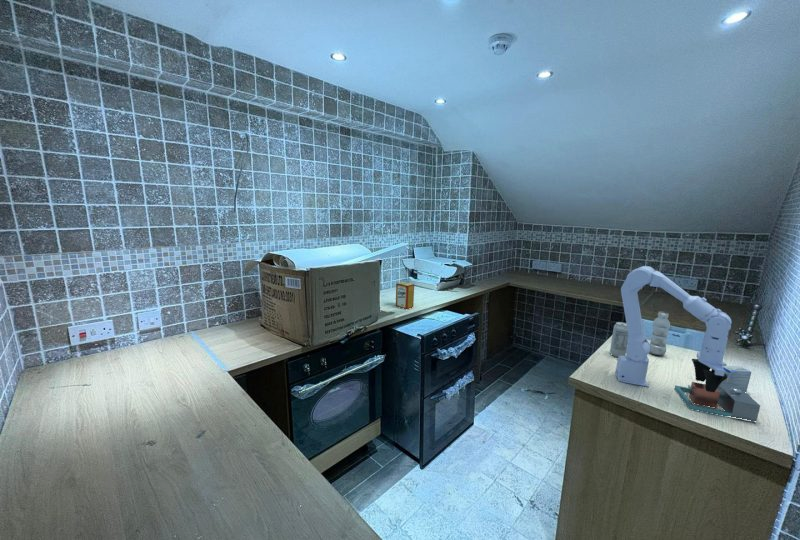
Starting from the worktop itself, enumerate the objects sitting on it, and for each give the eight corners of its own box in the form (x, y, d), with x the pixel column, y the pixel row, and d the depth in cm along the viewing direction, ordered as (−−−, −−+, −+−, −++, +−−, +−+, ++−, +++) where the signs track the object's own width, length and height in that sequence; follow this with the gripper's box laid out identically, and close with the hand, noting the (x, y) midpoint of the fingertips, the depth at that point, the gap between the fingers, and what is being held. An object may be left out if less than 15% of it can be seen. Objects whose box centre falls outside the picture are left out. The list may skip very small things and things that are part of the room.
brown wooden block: (688, 402, 113) (691, 386, 112) (683, 396, 117) (686, 380, 116) (716, 408, 110) (720, 392, 109) (710, 401, 114) (713, 385, 113)
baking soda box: (413, 307, 213) (414, 283, 210) (406, 309, 208) (407, 285, 206) (402, 304, 219) (402, 281, 217) (395, 306, 215) (396, 282, 212)
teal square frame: (689, 409, 109) (693, 389, 108) (674, 389, 122) (677, 371, 121) (755, 423, 103) (761, 402, 102) (732, 400, 116) (736, 381, 114)
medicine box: (734, 386, 125) (739, 365, 123) (746, 393, 121) (752, 371, 119) (714, 386, 125) (718, 365, 123) (726, 393, 120) (731, 370, 119)
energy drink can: (624, 354, 151) (630, 323, 148) (625, 359, 146) (631, 327, 143) (609, 351, 154) (614, 320, 151) (609, 356, 149) (614, 324, 146)
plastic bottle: (649, 355, 151) (656, 313, 147) (646, 350, 157) (653, 309, 153) (666, 358, 148) (674, 315, 144) (663, 353, 154) (670, 312, 150)
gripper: (740, 359, 102) (731, 399, 104) (718, 342, 115) (710, 378, 117) (711, 355, 104) (702, 394, 107) (692, 339, 118) (685, 374, 120)
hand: (704, 385), depth 112 cm, fingers open, 7 cm apart
